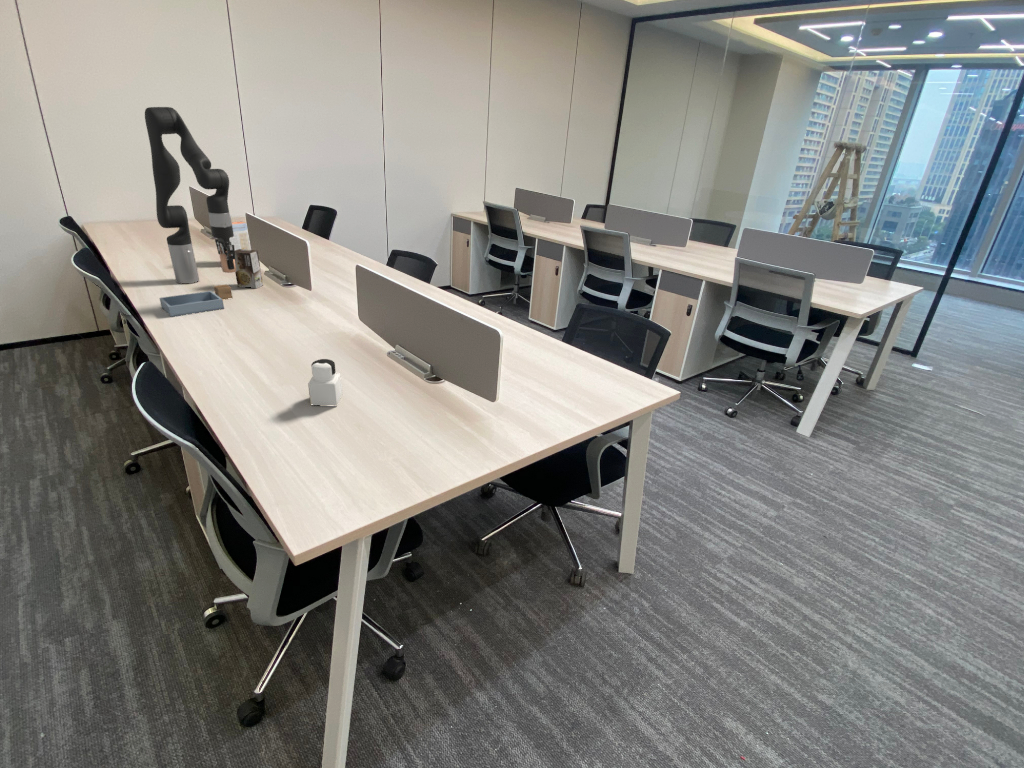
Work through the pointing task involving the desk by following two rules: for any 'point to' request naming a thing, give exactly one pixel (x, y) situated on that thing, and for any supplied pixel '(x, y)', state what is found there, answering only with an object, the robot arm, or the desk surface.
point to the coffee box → (248, 268)
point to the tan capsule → (224, 264)
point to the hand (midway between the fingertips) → (228, 267)
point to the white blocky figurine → (324, 383)
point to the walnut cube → (223, 291)
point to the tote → (191, 303)
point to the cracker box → (240, 236)
